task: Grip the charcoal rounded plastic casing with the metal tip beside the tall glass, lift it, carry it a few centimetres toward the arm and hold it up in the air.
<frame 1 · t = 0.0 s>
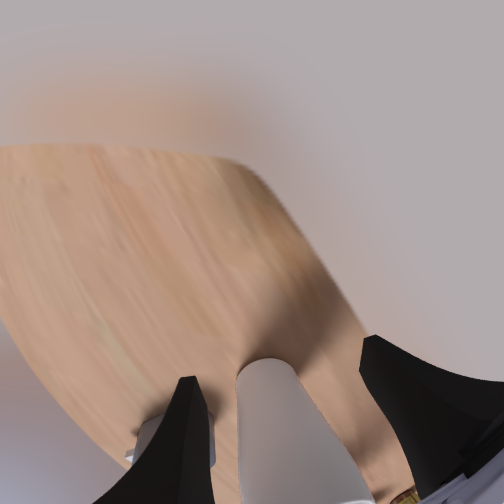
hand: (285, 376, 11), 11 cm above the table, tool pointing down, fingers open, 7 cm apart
drinking glass: (264, 378, 23), on the table
sauce bottle: (401, 496, 34), on the table
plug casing: (175, 427, 22), on the table
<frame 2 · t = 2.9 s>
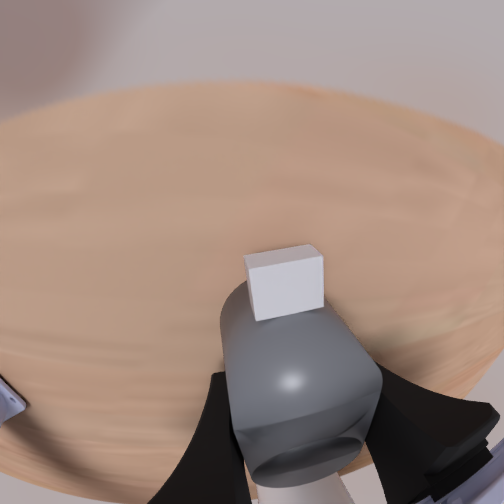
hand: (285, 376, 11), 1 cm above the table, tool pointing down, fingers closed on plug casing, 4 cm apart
drinking glass: (287, 452, 16), on the table
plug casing: (277, 355, 12), on the table, touching gripper
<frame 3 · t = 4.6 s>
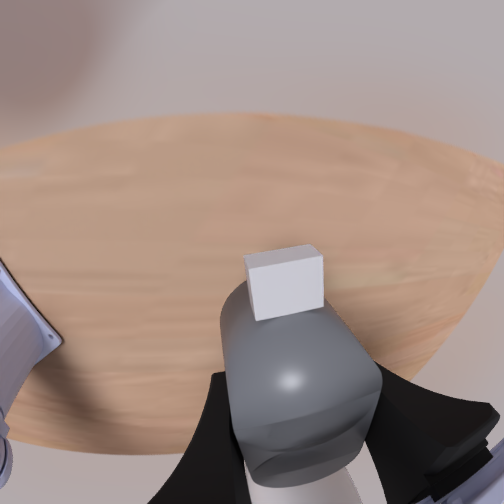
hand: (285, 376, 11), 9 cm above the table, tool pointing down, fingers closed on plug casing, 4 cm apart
drinking glass: (268, 385, 23), on the table
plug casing: (277, 355, 12), point 7 cm above the table, touching gripper
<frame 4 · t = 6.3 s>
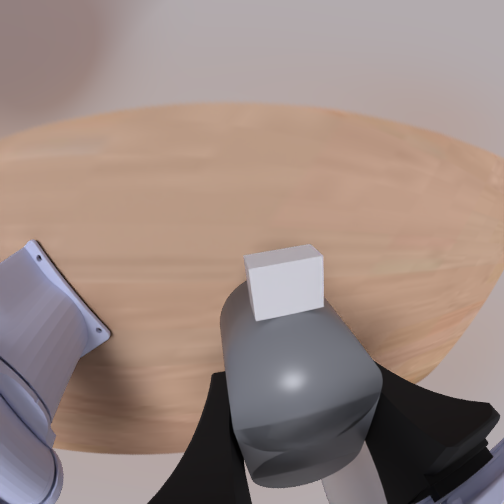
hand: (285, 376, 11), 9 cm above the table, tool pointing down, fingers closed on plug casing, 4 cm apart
drinking glass: (319, 370, 24), on the table
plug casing: (277, 355, 12), point 8 cm above the table, touching gripper
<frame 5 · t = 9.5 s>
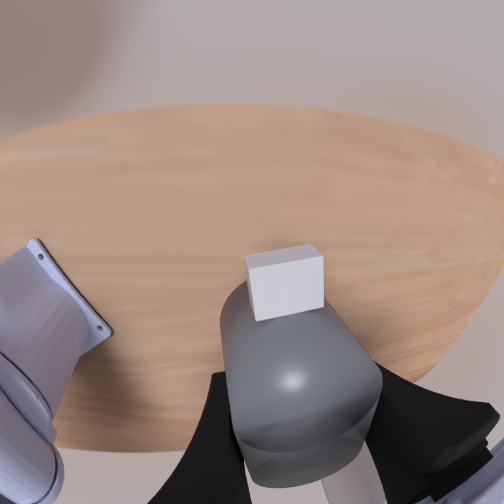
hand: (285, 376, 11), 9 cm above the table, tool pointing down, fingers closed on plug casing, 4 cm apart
drinking glass: (318, 367, 24), on the table
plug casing: (277, 355, 12), point 8 cm above the table, touching gripper
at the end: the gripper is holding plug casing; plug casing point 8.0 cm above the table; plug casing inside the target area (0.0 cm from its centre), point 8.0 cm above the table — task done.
